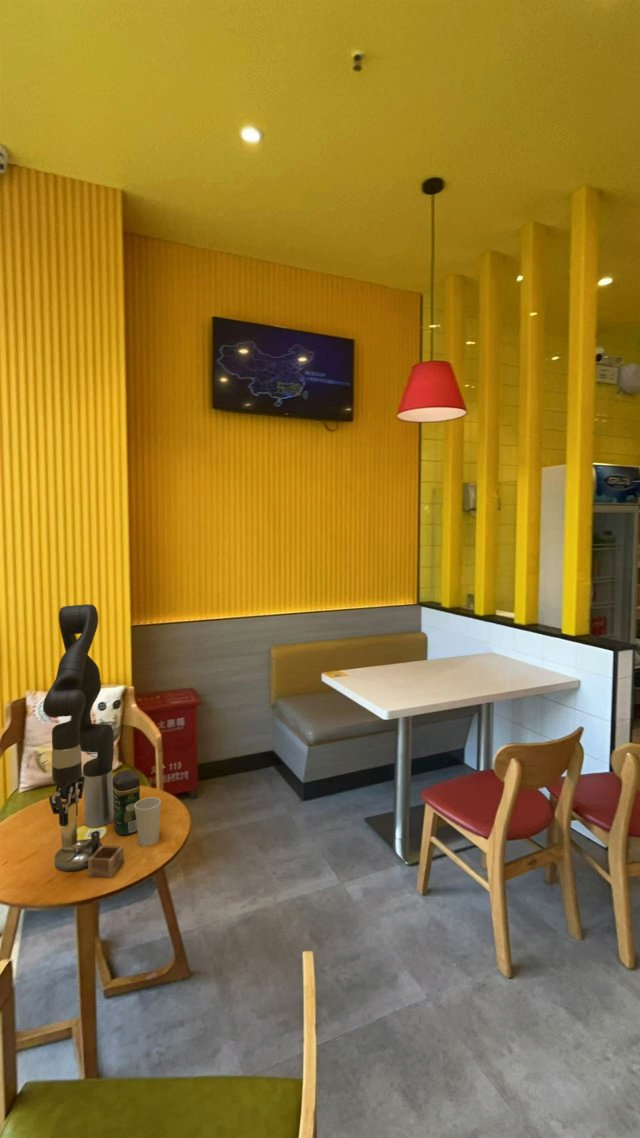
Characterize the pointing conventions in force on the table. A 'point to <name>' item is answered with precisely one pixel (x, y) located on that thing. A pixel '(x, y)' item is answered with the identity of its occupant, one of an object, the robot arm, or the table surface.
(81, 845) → the axle cap
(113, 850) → the block
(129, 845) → the table surface
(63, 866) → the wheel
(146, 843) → the cup
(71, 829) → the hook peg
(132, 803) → the coffee jar
